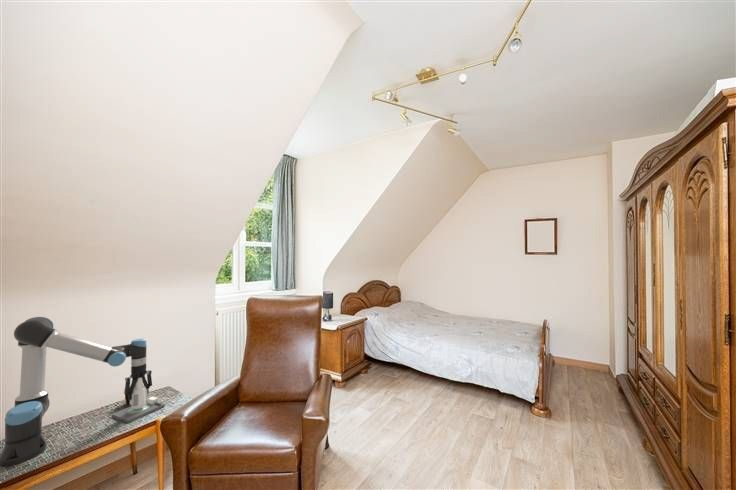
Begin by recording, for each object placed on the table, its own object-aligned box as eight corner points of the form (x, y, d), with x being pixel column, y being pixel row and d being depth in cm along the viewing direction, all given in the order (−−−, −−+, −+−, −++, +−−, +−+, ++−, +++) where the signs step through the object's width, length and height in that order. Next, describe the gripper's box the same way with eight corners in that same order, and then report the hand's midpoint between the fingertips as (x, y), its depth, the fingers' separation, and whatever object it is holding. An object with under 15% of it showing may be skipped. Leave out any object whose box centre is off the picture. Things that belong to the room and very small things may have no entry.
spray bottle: (134, 405, 183) (134, 376, 184) (147, 403, 185) (147, 374, 186) (129, 410, 176) (129, 380, 177) (142, 408, 178) (142, 378, 179)
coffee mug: (133, 406, 187) (133, 390, 188) (120, 406, 187) (120, 390, 188) (147, 397, 199) (147, 382, 199) (135, 397, 199) (135, 383, 199)
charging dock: (127, 423, 168) (127, 415, 168) (111, 416, 175) (111, 409, 175) (164, 406, 186) (164, 399, 186) (148, 401, 193) (148, 394, 194)
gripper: (123, 371, 171) (123, 410, 170) (159, 359, 189) (159, 395, 188) (116, 369, 174) (116, 408, 173) (152, 358, 192) (152, 393, 191)
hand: (138, 401), depth 181 cm, fingers closed on spray bottle, 7 cm apart
